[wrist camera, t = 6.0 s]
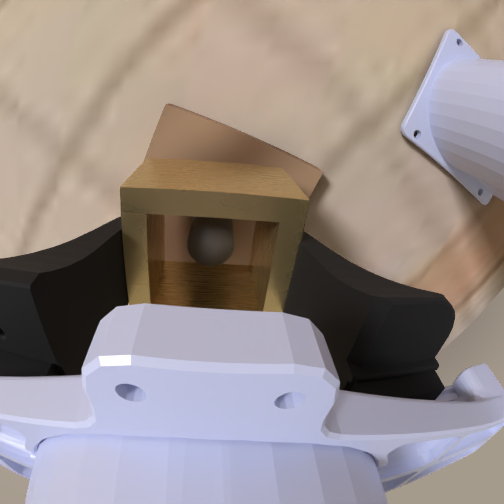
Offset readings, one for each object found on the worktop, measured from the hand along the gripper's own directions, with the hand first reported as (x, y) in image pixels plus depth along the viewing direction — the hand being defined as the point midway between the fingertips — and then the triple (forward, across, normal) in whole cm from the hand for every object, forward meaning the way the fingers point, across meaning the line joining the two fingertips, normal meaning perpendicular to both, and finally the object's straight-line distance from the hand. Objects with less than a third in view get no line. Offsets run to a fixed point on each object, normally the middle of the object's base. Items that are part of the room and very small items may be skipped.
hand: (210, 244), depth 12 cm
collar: (+2, 0, 0) cm, 2 cm away
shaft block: (+4, 0, 0) cm, 4 cm away
